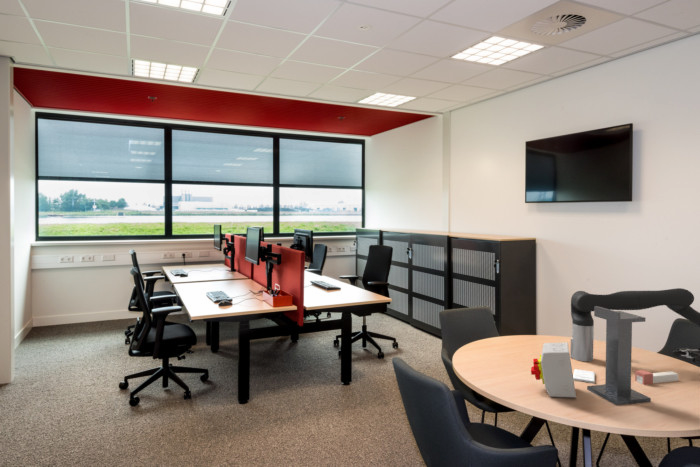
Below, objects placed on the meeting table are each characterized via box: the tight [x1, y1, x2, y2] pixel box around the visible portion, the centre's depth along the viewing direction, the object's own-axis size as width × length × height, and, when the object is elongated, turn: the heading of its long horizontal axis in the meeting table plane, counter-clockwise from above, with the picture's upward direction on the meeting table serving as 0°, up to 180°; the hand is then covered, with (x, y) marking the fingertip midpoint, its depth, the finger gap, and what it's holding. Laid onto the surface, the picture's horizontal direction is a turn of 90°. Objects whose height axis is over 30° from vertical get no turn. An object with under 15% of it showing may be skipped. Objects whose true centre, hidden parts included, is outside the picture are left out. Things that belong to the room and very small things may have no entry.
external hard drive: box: [573, 368, 596, 384], centre depth 189 cm, size 2×8×12 cm
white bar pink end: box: [634, 369, 679, 386], centre depth 184 cm, size 18×4×4 cm, turn 101°
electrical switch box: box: [530, 341, 577, 398], centre depth 175 cm, size 15×15×20 cm
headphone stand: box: [586, 306, 652, 406], centre depth 169 cm, size 15×15×34 cm
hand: (682, 356), depth 185 cm, fingers open, 8 cm apart
